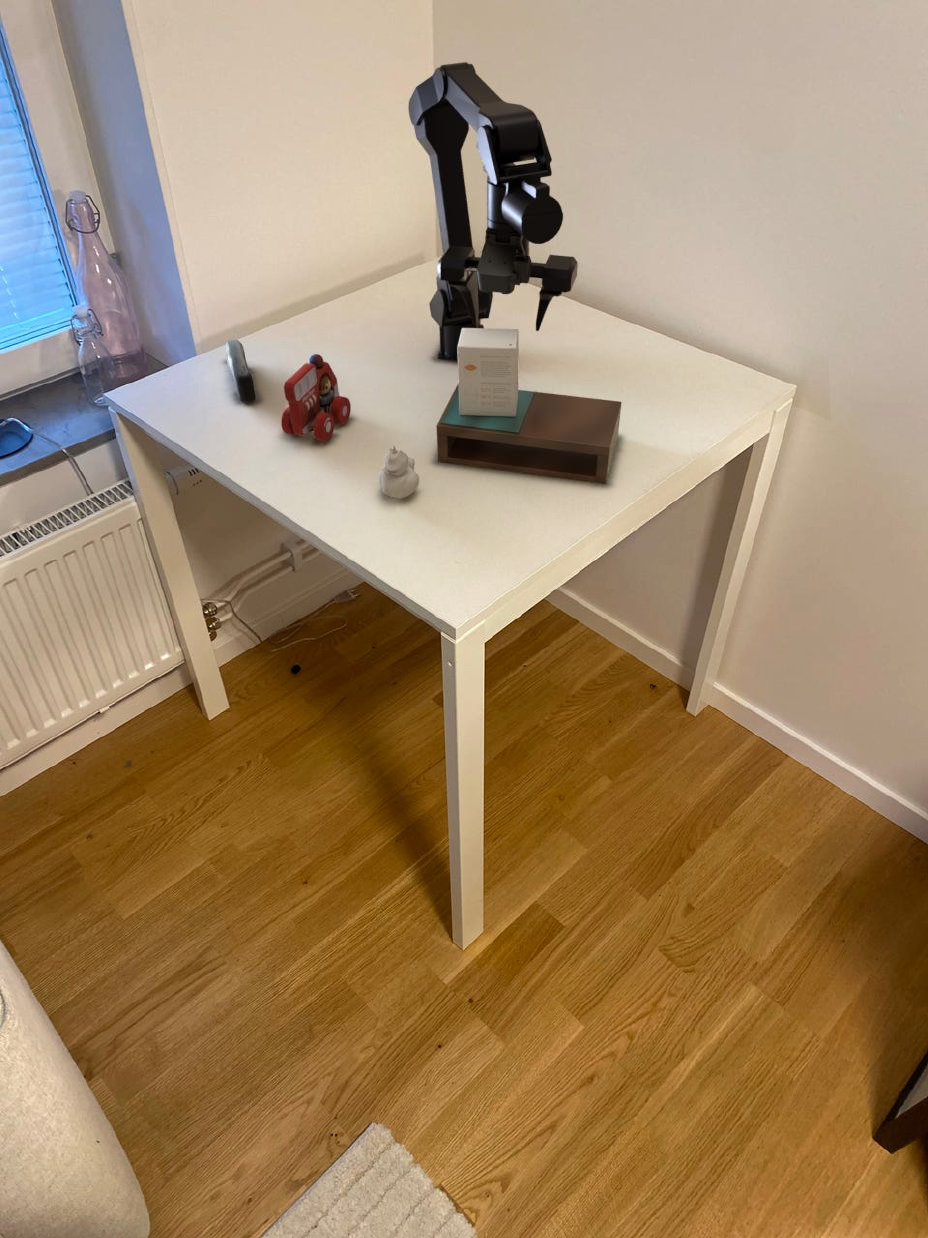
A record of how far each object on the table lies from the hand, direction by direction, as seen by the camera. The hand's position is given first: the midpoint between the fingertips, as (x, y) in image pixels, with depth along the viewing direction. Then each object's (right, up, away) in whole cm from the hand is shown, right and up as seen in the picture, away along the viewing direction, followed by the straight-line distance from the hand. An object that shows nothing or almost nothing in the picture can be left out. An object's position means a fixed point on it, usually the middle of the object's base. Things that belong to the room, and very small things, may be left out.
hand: (506, 326), depth 135 cm
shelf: (+3, -18, 0) cm, 18 cm away
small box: (-3, -12, -3) cm, 13 cm away
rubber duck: (-15, -25, -7) cm, 30 cm away
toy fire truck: (-28, -14, +5) cm, 32 cm away
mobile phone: (-42, -4, +16) cm, 45 cm away
